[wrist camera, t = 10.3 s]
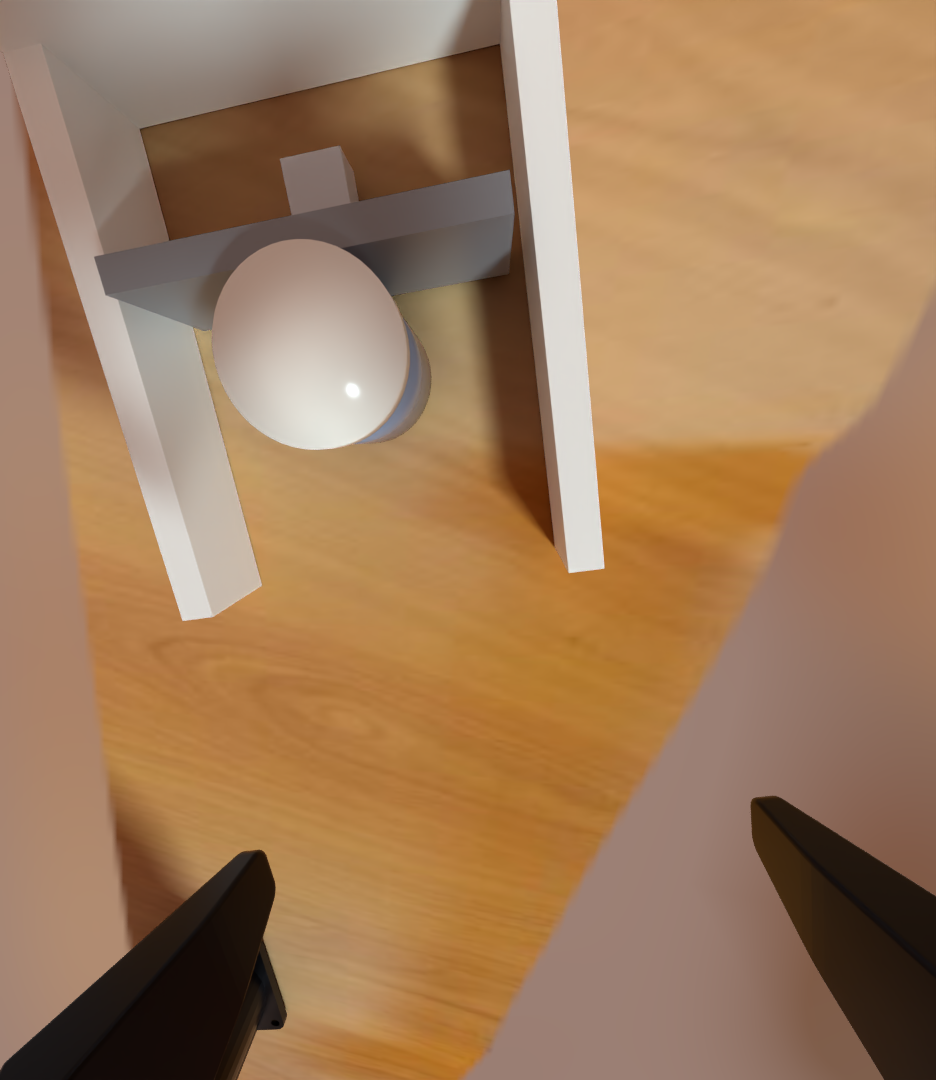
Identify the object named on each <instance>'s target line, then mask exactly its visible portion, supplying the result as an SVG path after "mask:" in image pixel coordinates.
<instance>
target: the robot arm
mask: <svg viewBox="0 0 936 1080" xmlns="http://www.w3.org/2000/svg"><path fill="white" fill-rule="evenodd" d="M751 822H752V823H751V824H752V838H753V842H754V846H755V848H756V851H757V853H758V855H759V857H760V859H761V861H762V863H763V865H764V867H765V869H766V871H767V873H768V875H769V877H770V879H771V881H772V883H773V885H774V887H775V889H776V891H777V893H778V895H779V896H780V899H781V901H782V902H783V904H784V906H785V908H786V910H787V912H788V914H789V916H790V918H791V920H792V922H793V924H794V926H795V928H796V930H797V932H798V934H799V936H800V938H801V940H802V942H803V944H804V946H805V947H806V950H807V952H808V953H809V955H810V957H811V959H812V961H813V963H814V964H815V966H816V968H817V970H818V971H819V973H820V975H821V976H822V978H823V980H824V982H825V983H826V985H827V986H828V988H829V990H830V991H831V993H832V995H833V996H834V998H835V1000H836V1001H837V1003H838V1005H839V1006H840V1008H841V1009H842V1011H843V1013H844V1014H845V1016H846V1018H847V1019H848V1021H849V1023H850V1024H851V1026H852V1028H853V1029H854V1031H855V1032H856V1034H857V1036H858V1037H859V1039H860V1040H861V1042H862V1044H863V1046H864V1047H865V1049H866V1050H867V1052H868V1054H869V1055H870V1057H871V1059H872V1060H873V1062H874V1064H875V1065H876V1067H877V1069H878V1070H879V1072H880V1074H881V1075H882V1077H883V1078H884V1080H936V896H935V895H933V894H931V893H930V892H928V891H926V890H925V889H924V888H922V887H920V886H919V885H917V884H916V883H914V882H913V881H911V880H909V879H908V878H906V877H905V876H903V875H902V874H900V873H898V872H897V871H895V870H893V869H892V868H890V867H889V866H887V865H886V864H884V863H883V862H881V861H880V860H878V859H876V858H875V857H873V856H872V855H870V854H869V853H867V852H865V851H864V850H862V849H860V848H859V847H857V846H855V845H854V844H852V843H851V842H850V841H848V840H846V839H845V838H843V837H842V836H840V835H838V834H837V833H835V832H834V831H832V830H831V829H829V828H827V827H826V826H824V825H823V824H821V823H820V822H818V821H816V820H815V819H813V818H812V817H810V816H808V815H807V814H805V813H804V812H802V811H801V810H799V809H798V808H796V807H794V806H793V805H791V804H790V803H788V802H787V801H785V800H783V799H782V798H779V797H777V796H765V797H756V798H753V799H752V801H751ZM274 897H275V881H274V878H273V875H272V872H271V869H270V866H269V863H268V860H267V857H266V854H265V853H264V852H263V851H262V850H253V851H244V852H241V853H240V854H238V855H237V856H236V857H235V858H233V859H232V860H231V861H230V862H229V863H228V864H227V865H226V866H224V867H223V868H222V869H221V870H220V871H219V872H218V873H217V874H216V875H214V876H213V877H212V878H211V879H210V880H209V881H208V882H207V883H205V884H204V885H203V886H202V887H201V888H200V889H199V890H198V891H197V892H195V893H194V894H193V895H192V896H191V897H190V898H189V899H188V900H186V901H185V902H184V903H183V904H182V905H181V906H180V907H179V908H177V909H176V910H175V911H174V912H173V913H172V914H171V915H170V916H169V917H167V918H166V919H165V920H164V921H163V922H162V923H161V924H160V925H158V926H157V927H156V928H155V929H154V930H153V931H152V932H151V933H150V934H148V935H147V936H146V937H145V938H144V939H143V940H142V941H141V942H139V943H138V944H137V945H136V946H135V947H134V948H133V949H132V950H130V951H129V952H128V953H127V954H126V955H125V956H124V957H123V958H122V959H120V960H119V961H118V962H117V963H116V964H115V965H114V966H113V967H111V968H110V969H109V970H108V971H107V972H106V973H105V974H104V975H103V976H102V977H101V978H99V979H98V980H97V981H96V982H95V983H94V984H92V985H91V986H90V987H89V988H88V989H87V990H86V991H85V992H83V993H82V994H81V995H80V996H79V997H78V998H77V999H76V1000H75V1001H73V1002H72V1003H71V1004H70V1005H69V1006H68V1007H67V1008H66V1009H64V1010H63V1011H62V1012H61V1013H60V1014H59V1015H58V1016H57V1017H56V1018H54V1019H53V1020H52V1021H51V1022H50V1023H49V1024H48V1025H47V1026H45V1028H43V1029H42V1030H41V1031H40V1032H39V1033H38V1034H36V1036H34V1037H33V1038H32V1039H31V1040H30V1041H29V1042H27V1044H25V1045H24V1046H23V1047H22V1048H21V1049H20V1050H19V1051H17V1052H16V1053H15V1054H14V1055H13V1056H12V1057H11V1058H10V1059H9V1060H7V1061H6V1062H5V1063H4V1065H3V1066H2V1068H1V1070H0V1080H237V1079H238V1076H239V1074H240V1071H241V1069H242V1066H243V1064H244V1061H245V1059H246V1056H247V1054H248V1051H249V1049H250V1046H251V1044H252V1041H253V1039H254V1036H255V1034H256V1031H257V1030H273V1029H281V1028H282V1027H283V1026H284V1023H285V1020H286V1017H287V1013H286V1010H285V1007H284V1004H283V1001H282V998H281V995H280V992H279V989H278V986H277V983H276V980H275V977H274V974H273V971H272V968H271V965H270V962H269V959H268V956H267V953H266V950H265V947H264V944H263V941H262V939H263V935H264V932H265V928H266V925H267V922H268V918H269V915H270V911H271V908H272V905H273V901H274Z"/></svg>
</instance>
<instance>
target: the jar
mask: <svg viewBox="0 0 936 1080" xmlns="http://www.w3.org/2000/svg"><path fill="white" fill-rule="evenodd" d="M212 348H213V356H214V361H215V366H216V369H217V372H218V375H219V378H220V381H221V383H222V385H223V387H224V389H225V392H226V393H227V395H228V397H229V398H230V400H231V402H232V403H233V405H234V406H235V407H236V408H237V410H238V411H239V412H240V414H241V415H242V416H243V417H244V418H245V419H246V420H247V421H248V422H249V423H250V424H251V425H253V426H254V427H255V428H256V429H258V430H259V431H260V432H262V433H263V434H265V435H266V436H268V437H270V438H272V439H274V440H276V441H278V442H280V443H282V444H286V445H289V446H292V447H296V448H301V449H312V450H320V449H333V448H341V447H345V446H350V445H352V444H368V443H381V442H385V441H389V440H392V439H394V438H397V437H398V436H400V435H402V434H404V433H405V432H406V431H408V430H409V429H410V428H411V427H412V426H413V425H414V424H415V423H416V422H417V420H418V419H419V418H420V416H421V414H422V413H423V411H424V409H425V407H426V404H427V402H428V398H429V395H430V389H431V369H430V364H429V359H428V356H427V354H426V351H425V349H424V347H423V345H422V343H421V341H420V340H419V338H418V337H417V335H416V334H415V333H414V331H413V330H412V329H411V327H410V326H409V325H408V323H407V322H406V321H405V319H404V318H403V317H402V315H401V313H400V311H399V309H398V307H397V305H396V303H395V301H394V300H393V298H392V297H391V295H390V294H389V292H388V291H387V289H386V288H385V286H384V285H383V284H382V282H381V281H380V280H379V279H378V277H377V276H376V275H375V274H374V273H373V272H372V270H371V269H369V268H368V267H367V266H366V265H365V264H364V263H363V262H362V261H361V260H359V259H358V258H356V257H355V256H353V255H352V254H350V253H349V252H347V251H345V250H343V249H341V248H339V247H337V246H335V245H332V244H329V243H326V242H322V241H317V240H311V239H292V240H284V241H280V242H277V243H273V244H270V245H268V246H266V247H264V248H262V249H260V250H258V251H256V252H255V253H253V254H252V255H250V256H249V257H248V258H247V259H245V260H244V261H243V262H242V263H241V264H240V265H239V266H238V267H237V268H236V270H235V271H234V272H233V273H232V274H231V276H230V277H229V279H228V280H227V282H226V284H225V285H224V287H223V289H222V292H221V294H220V296H219V298H218V302H217V305H216V308H215V312H214V318H213V324H212Z"/></svg>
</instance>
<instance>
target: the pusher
mask: <svg viewBox="0 0 936 1080" xmlns="http://www.w3.org/2000/svg"><path fill="white" fill-rule="evenodd" d="M280 163H281V167H282V172H283V177H284V182H285V186H286V191H287V196H288V201H289V205H290V210H291V216H286V217H281V218H276V219H272V220H267V221H262V222H257V223H253V224H248V225H243V226H238V227H233V228H229V229H224V230H219V231H214V232H210V233H205V234H200V235H195V236H190V237H186V238H181V239H176V240H171V241H166V242H162V243H157V244H152V245H147V246H143V247H138V248H133V249H128V250H123V251H119V252H114V253H109V254H104V255H99V256H95V257H94V259H95V262H96V265H97V269H98V272H99V275H100V279H101V282H102V285H103V288H104V292H105V295H106V296H109V297H112V298H115V299H117V300H120V301H123V302H126V303H128V304H131V305H134V306H137V307H139V308H142V309H145V310H148V311H150V312H153V313H156V314H159V315H161V316H164V317H167V318H170V319H172V320H175V321H178V322H181V323H183V324H186V325H189V326H192V327H194V328H197V329H200V330H203V331H207V330H212V324H213V318H214V312H215V308H216V305H217V302H218V298H219V296H220V294H221V292H222V289H223V287H224V285H225V284H226V282H227V280H228V279H229V277H230V276H231V274H232V273H233V272H234V271H235V270H236V268H237V267H238V266H239V265H240V264H241V263H242V262H243V261H244V260H245V259H247V258H248V257H249V256H250V255H252V254H253V253H255V252H256V251H258V250H260V249H262V248H264V247H266V246H268V245H270V244H273V243H277V242H280V241H284V240H292V239H311V240H317V241H322V242H326V243H329V244H332V245H335V246H337V247H339V248H341V249H343V250H345V251H347V252H349V253H350V254H352V255H353V256H355V257H356V258H358V259H359V260H361V261H362V262H363V263H364V264H365V265H366V266H367V267H368V268H369V269H371V270H372V272H373V273H374V274H375V275H376V276H377V277H378V279H379V280H380V281H381V282H382V284H383V285H384V286H385V288H386V289H387V291H388V292H389V294H390V295H391V296H394V295H399V294H405V293H410V292H415V291H421V290H426V289H431V288H437V287H442V286H447V285H453V284H458V283H463V282H469V281H474V280H479V279H485V278H490V277H495V276H501V275H506V274H509V268H510V257H511V246H512V235H513V224H514V214H515V213H514V204H513V195H512V186H511V177H510V170H506V171H501V172H497V173H492V174H487V175H482V176H477V177H473V178H468V179H463V180H458V181H453V182H449V183H444V184H439V185H434V186H430V187H425V188H420V189H415V190H410V191H406V192H401V193H396V194H391V195H387V196H382V197H377V198H372V199H367V200H363V201H359V199H358V193H357V187H356V182H355V176H354V171H353V169H352V167H351V166H350V164H349V162H348V160H347V158H346V156H345V154H344V152H343V150H342V149H341V147H340V145H339V146H335V147H330V148H326V149H321V150H317V151H312V152H308V153H303V154H299V155H294V156H290V157H285V158H281V159H280Z"/></svg>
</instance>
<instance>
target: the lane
mask: <svg viewBox="0 0 936 1080" xmlns="http://www.w3.org/2000/svg"><path fill="white" fill-rule="evenodd" d="M497 44H500V50H501V59H502V68H503V78H504V87H505V96H506V105H507V114H508V123H509V133H510V142H511V151H512V160H513V169H514V178H515V187H516V197H517V206H518V215H519V224H520V233H521V242H522V251H523V261H524V270H525V279H526V288H527V297H528V306H529V315H530V325H531V334H532V343H533V352H534V361H535V370H536V380H537V389H538V398H539V407H540V416H541V425H542V434H543V444H544V453H545V462H546V471H547V480H548V489H549V498H550V508H551V517H552V526H553V535H554V544H555V549H556V551H557V552H558V554H559V556H560V558H561V560H562V561H563V563H564V565H565V567H566V569H567V571H568V572H569V573H572V572H580V571H588V570H596V569H604V557H603V545H602V533H601V521H600V510H599V498H598V486H597V474H596V462H595V450H594V438H593V426H592V415H591V403H590V391H589V379H588V367H587V355H586V343H585V331H584V320H583V308H582V296H581V284H580V272H579V260H578V248H577V236H576V225H575V213H574V201H573V189H572V177H571V165H570V153H569V141H568V130H567V118H566V106H565V94H564V82H563V70H562V58H561V46H560V35H559V23H558V11H557V0H0V51H1V52H2V53H3V55H4V58H5V62H6V65H7V68H8V71H9V74H10V77H11V80H12V84H13V87H14V90H15V93H16V96H17V99H18V103H19V106H20V109H21V112H22V115H23V118H24V121H25V125H26V128H27V131H28V134H29V137H30V140H31V144H32V147H33V150H34V153H35V156H36V159H37V163H38V166H39V169H40V172H41V175H42V178H43V181H44V185H45V188H46V191H47V194H48V197H49V200H50V204H51V207H52V210H53V213H54V216H55V219H56V222H57V226H58V229H59V232H60V235H61V238H62V241H63V245H64V248H65V251H66V254H67V257H68V260H69V264H70V267H71V270H72V273H73V276H74V279H75V282H76V286H77V289H78V292H79V295H80V298H81V301H82V305H83V308H84V311H85V314H86V317H87V320H88V323H89V327H90V330H91V333H92V336H93V339H94V342H95V346H96V349H97V352H98V355H99V358H100V361H101V365H102V368H103V371H104V374H105V377H106V380H107V383H108V387H109V390H110V393H111V396H112V399H113V402H114V406H115V409H116V412H117V415H118V418H119V421H120V424H121V428H122V431H123V434H124V437H125V440H126V443H127V447H128V450H129V453H130V456H131V459H132V462H133V466H134V469H135V472H136V475H137V478H138V481H139V484H140V488H141V491H142V494H143V497H144V500H145V503H146V507H147V510H148V513H149V516H150V519H151V522H152V525H153V529H154V532H155V535H156V538H157V541H158V544H159V548H160V551H161V554H162V557H163V560H164V563H165V567H166V570H167V573H168V576H169V579H170V582H171V585H172V589H173V592H174V595H175V598H176V601H177V604H178V608H179V611H180V614H181V617H182V620H183V621H185V620H193V619H201V618H209V617H214V616H215V615H217V614H218V613H220V612H222V611H223V610H225V609H226V608H228V607H229V606H231V605H232V604H234V603H236V602H237V601H239V600H240V599H242V598H243V597H245V596H246V595H248V594H250V593H251V592H253V591H254V590H256V589H257V588H259V587H260V586H262V584H261V580H260V576H259V572H258V569H257V565H256V561H255V557H254V554H253V550H252V546H251V543H250V539H249V535H248V531H247V528H246V524H245V520H244V516H243V513H242V509H241V505H240V502H239V498H238V494H237V490H236V487H235V483H234V479H233V475H232V472H231V468H230V464H229V461H228V457H227V453H226V449H225V446H224V442H223V438H222V435H221V431H220V427H219V423H218V420H217V416H216V412H215V408H214V405H213V401H212V397H211V394H210V390H209V386H208V382H207V379H206V375H205V371H204V367H203V364H202V360H201V356H200V353H199V349H198V345H197V341H196V338H195V334H194V330H193V327H192V326H189V325H186V324H183V323H181V322H178V321H175V320H172V319H170V318H167V317H164V316H161V315H159V314H156V313H153V312H150V311H148V310H145V309H142V308H139V307H137V306H134V305H131V304H128V303H126V302H123V301H120V300H117V299H115V298H112V297H109V296H106V295H105V292H104V288H103V285H102V282H101V279H100V275H99V272H98V269H97V265H96V262H95V259H94V257H95V256H99V255H104V254H109V253H114V252H119V251H123V250H128V249H133V248H138V247H143V246H147V245H152V244H157V243H162V242H166V241H169V237H168V233H167V230H166V226H165V222H164V218H163V215H162V211H161V207H160V203H159V200H158V196H157V192H156V189H155V185H154V181H153V177H152V174H151V170H150V166H149V162H148V159H147V155H146V151H145V148H144V144H143V140H142V136H141V133H140V128H144V127H149V126H153V125H157V124H161V123H166V122H170V121H174V120H178V119H183V118H187V117H191V116H195V115H200V114H204V113H208V112H212V111H217V110H221V109H225V108H229V107H234V106H238V105H242V104H246V103H250V102H255V101H259V100H263V99H267V98H272V97H276V96H280V95H284V94H289V93H293V92H297V91H301V90H306V89H310V88H314V87H318V86H323V85H327V84H331V83H335V82H340V81H344V80H348V79H352V78H357V77H361V76H365V75H369V74H374V73H378V72H382V71H386V70H391V69H395V68H399V67H403V66H408V65H412V64H416V63H420V62H425V61H429V60H433V59H437V58H441V57H446V56H450V55H454V54H458V53H463V52H467V51H471V50H475V49H480V48H484V47H488V46H492V45H497Z"/></svg>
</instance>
